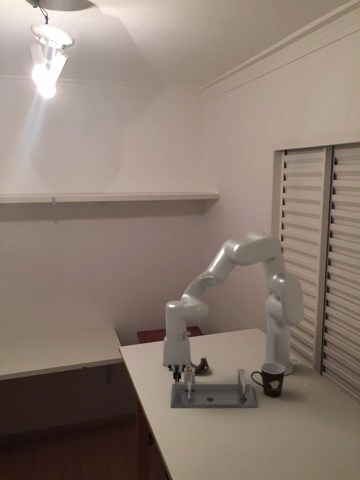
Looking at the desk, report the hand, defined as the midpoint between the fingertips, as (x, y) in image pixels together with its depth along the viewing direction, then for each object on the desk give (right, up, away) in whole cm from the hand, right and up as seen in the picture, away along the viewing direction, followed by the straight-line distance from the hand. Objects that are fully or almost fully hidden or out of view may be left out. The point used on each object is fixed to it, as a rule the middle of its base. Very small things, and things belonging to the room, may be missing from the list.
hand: (177, 380), depth 159 cm
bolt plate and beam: (+13, -5, -4) cm, 14 cm away
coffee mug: (+34, -4, -1) cm, 34 cm away
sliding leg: (+5, -3, -3) cm, 6 cm away
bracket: (+5, -1, +17) cm, 18 cm away
